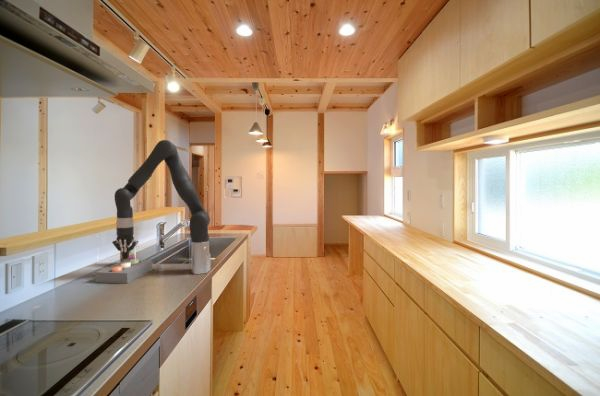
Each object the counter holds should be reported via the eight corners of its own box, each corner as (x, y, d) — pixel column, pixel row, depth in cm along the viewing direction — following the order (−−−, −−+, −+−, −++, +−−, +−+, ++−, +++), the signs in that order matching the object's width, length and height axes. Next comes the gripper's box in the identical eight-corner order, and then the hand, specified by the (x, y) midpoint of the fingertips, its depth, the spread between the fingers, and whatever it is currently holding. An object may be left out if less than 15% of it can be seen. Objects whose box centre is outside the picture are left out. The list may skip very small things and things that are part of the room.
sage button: (140, 265, 151) (140, 258, 151) (135, 268, 146) (135, 261, 146) (132, 265, 151) (132, 258, 151) (127, 268, 147) (127, 260, 146)
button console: (152, 269, 152) (152, 260, 152) (127, 283, 132) (127, 273, 131) (125, 268, 153) (124, 260, 153) (95, 282, 132) (95, 272, 132)
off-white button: (132, 269, 144) (132, 262, 144) (127, 272, 140) (127, 264, 140) (124, 269, 144) (124, 262, 144) (119, 272, 140) (118, 264, 140)
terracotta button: (124, 273, 138) (124, 266, 138) (118, 276, 133) (118, 268, 133) (116, 273, 138) (115, 265, 138) (109, 276, 134) (109, 268, 133)
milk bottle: (121, 263, 162) (121, 230, 161) (136, 262, 165) (136, 230, 164) (119, 267, 155) (118, 233, 154) (134, 266, 158) (134, 232, 157)
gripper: (141, 225, 144) (142, 257, 145) (117, 224, 145) (118, 256, 146) (132, 227, 137) (133, 261, 138) (107, 226, 137) (108, 260, 138)
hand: (125, 258), depth 142 cm, fingers closed
